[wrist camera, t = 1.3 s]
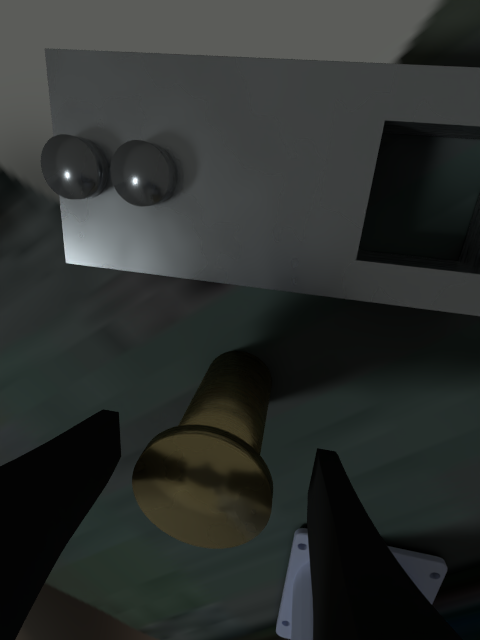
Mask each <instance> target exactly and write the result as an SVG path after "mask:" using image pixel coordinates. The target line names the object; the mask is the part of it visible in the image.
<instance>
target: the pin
mask: <svg viewBox="0 0 480 640" xmlns="http://www.w3.org/2000/svg"><path fill="white" fill-rule="evenodd" d="M271 386H272V380H271V375H270V372H269V370H268V368H267V367H266V365H265V364H264V363H263V362H262V361H261V360H260V359H259V358H257V357H256V356H254V355H252V354H249V353H247V352H242V351H231V352H227V353H224V354H221V355H220V356H218V357H217V358H216V359H215V360H214V361H213V362H212V363H211V365H210V367H209V369H208V371H207V372H206V374H205V376H204V378H203V380H202V382H201V384H200V386H199V388H198V389H197V391H196V393H195V395H194V397H193V399H192V401H191V403H190V405H189V406H188V408H187V410H186V412H185V414H184V416H183V418H182V420H181V422H180V423H179V425H178V426H176V427H172V428H170V429H167V430H165V431H163V432H161V433H159V434H158V435H157V436H155V437H154V438H153V439H152V440H151V441H150V442H149V443H148V445H147V446H146V448H145V450H144V451H143V453H142V455H141V456H140V458H139V459H138V461H137V463H136V465H135V468H134V471H133V476H132V485H133V491H134V495H135V498H136V500H137V502H138V504H139V506H140V508H141V509H142V511H143V512H144V514H145V515H146V516H147V517H148V518H149V519H150V520H151V522H152V523H154V524H155V525H156V526H157V527H158V528H159V529H161V530H162V531H164V532H165V533H167V534H168V535H170V536H172V537H174V538H176V539H178V540H180V541H182V542H185V543H188V544H191V545H195V546H199V547H204V548H230V547H234V546H239V545H241V544H244V543H246V542H248V541H250V540H252V539H253V538H255V537H256V536H257V535H258V534H259V533H260V532H261V531H262V530H263V529H264V528H265V526H266V525H267V523H268V520H269V518H270V514H271V508H272V498H273V481H272V477H271V474H270V471H269V469H268V467H267V465H266V463H265V462H264V460H263V459H262V457H261V456H260V452H261V446H262V440H263V434H264V428H265V422H266V416H267V410H268V404H269V398H270V392H271Z"/></svg>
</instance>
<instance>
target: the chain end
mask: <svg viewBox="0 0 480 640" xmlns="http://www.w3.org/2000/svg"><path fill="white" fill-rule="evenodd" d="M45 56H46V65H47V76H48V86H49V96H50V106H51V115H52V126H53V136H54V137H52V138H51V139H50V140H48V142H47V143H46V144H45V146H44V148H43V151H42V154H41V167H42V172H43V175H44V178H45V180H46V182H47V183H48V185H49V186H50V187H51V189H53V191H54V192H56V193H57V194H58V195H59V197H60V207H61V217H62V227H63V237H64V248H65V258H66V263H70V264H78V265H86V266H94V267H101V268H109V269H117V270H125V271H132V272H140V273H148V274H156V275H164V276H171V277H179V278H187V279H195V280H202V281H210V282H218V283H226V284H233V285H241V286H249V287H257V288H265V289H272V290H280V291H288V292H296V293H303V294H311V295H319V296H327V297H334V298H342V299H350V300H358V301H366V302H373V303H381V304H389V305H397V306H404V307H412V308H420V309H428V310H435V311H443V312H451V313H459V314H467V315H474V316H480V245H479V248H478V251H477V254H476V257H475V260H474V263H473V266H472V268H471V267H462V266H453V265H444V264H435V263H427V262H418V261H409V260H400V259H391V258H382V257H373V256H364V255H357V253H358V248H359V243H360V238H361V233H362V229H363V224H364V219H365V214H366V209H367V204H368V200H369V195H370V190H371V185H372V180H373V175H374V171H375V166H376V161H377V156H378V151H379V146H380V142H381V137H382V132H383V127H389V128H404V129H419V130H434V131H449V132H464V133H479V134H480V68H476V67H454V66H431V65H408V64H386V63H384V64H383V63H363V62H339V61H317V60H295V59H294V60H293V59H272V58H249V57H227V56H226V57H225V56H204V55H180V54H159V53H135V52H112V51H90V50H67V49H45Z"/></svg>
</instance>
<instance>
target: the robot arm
mask: <svg viewBox="0 0 480 640" xmlns="http://www.w3.org/2000/svg"><path fill="white" fill-rule="evenodd" d="M120 457H121V445H120V427H119V412H114V411H109V410H101V411H100V412H98V413H96V414H94V415H93V416H91V417H89V418H87V419H86V420H84V421H82V422H81V423H79V424H77V425H76V426H74V427H72V428H71V429H69V430H67V431H66V432H64V433H62V434H60V435H59V436H57V437H55V438H54V439H52V440H50V441H48V442H47V443H45V444H43V445H41V446H39V447H37V448H35V449H34V450H32V451H30V452H28V453H26V454H24V455H22V456H20V457H19V458H17V459H15V460H13V461H10V462H8V463H6V464H4V465H2V466H0V640H15V639H16V637H17V635H18V633H19V631H20V629H21V627H22V625H23V623H24V621H25V619H26V617H27V615H28V613H29V611H30V609H31V607H32V606H33V604H34V602H35V600H36V598H37V596H38V594H39V592H40V590H41V588H42V586H43V585H44V583H45V581H46V579H47V577H48V576H49V574H50V572H51V570H52V568H53V567H54V565H55V563H56V561H57V559H58V558H59V556H60V554H61V552H62V551H63V549H64V548H65V546H66V544H67V543H68V541H69V540H70V538H71V537H72V535H73V534H74V532H75V531H76V529H77V528H78V526H79V525H80V523H81V522H82V520H83V519H84V517H85V516H86V514H87V513H88V512H89V510H90V509H91V507H92V506H93V504H94V503H95V501H96V500H97V498H98V497H99V495H100V494H101V492H102V491H103V489H104V488H105V486H106V484H107V483H108V481H109V479H110V477H111V475H112V474H113V472H114V470H115V468H116V466H117V464H118V462H119V459H120ZM447 569H448V568H447V566H446V563H445V561H444V560H443V559H442V558H440V557H437V556H433V555H428V554H423V553H419V552H414V551H409V550H405V549H400V548H395V547H391V546H387V545H386V543H385V542H384V540H383V539H382V537H381V536H380V534H379V532H378V531H377V529H376V528H375V526H374V524H373V523H372V521H371V519H370V518H369V516H368V514H367V513H366V511H365V509H364V507H363V505H362V504H361V502H360V500H359V498H358V496H357V494H356V492H355V491H354V489H353V487H352V485H351V483H350V481H349V478H348V476H347V474H346V472H345V470H344V468H343V466H342V463H341V461H340V459H339V456H338V454H337V453H336V452H335V451H329V450H324V449H318V448H317V452H316V457H315V462H314V466H313V471H312V476H311V481H310V486H309V490H308V506H307V529H306V528H299V529H297V530H296V531H295V534H294V539H293V544H292V549H291V554H290V559H289V564H288V569H287V574H286V579H285V584H284V589H283V594H282V599H281V604H280V609H279V615H278V620H277V625H276V632H277V634H278V635H279V636H281V637H284V638H288V639H291V640H462V639H461V638H460V636H459V635H458V634H457V633H456V632H455V631H454V630H453V629H452V628H451V627H450V625H449V624H448V623H447V622H446V621H445V620H444V619H443V618H442V616H441V615H440V614H439V613H438V612H437V610H436V609H435V608H434V607H433V606H432V604H433V601H434V599H435V597H436V595H437V593H438V590H439V588H440V586H441V584H442V581H443V579H444V577H445V575H446V573H447Z"/></svg>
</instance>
